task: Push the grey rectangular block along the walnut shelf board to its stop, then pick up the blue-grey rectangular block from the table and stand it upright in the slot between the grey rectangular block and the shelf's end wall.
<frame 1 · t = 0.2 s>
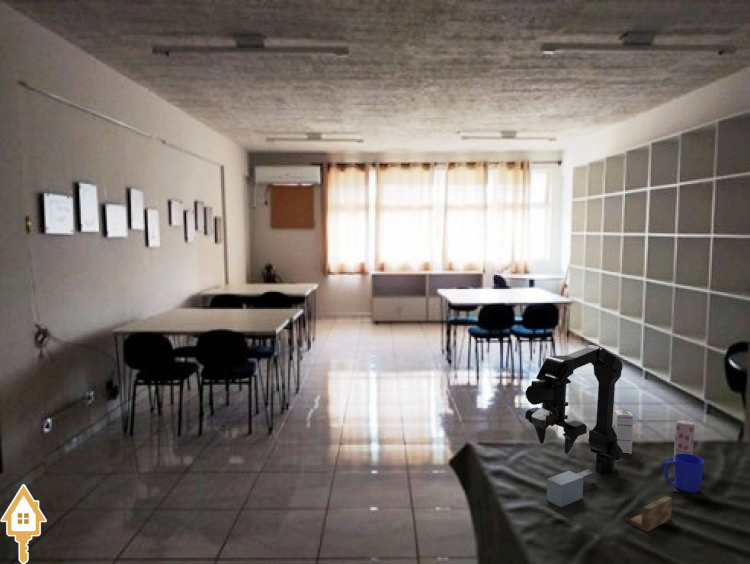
hand: (553, 448, 169), 14 cm above the table, tool pointing down, fingers open, 9 cm apart
beverage can: (682, 464, 193), on the table
shelf: (612, 503, 164), on the table
blue-grey rectangular block: (564, 503, 164), on the table
grey rectangular block: (581, 479, 172), point 3 cm above the table, slide at 0.0 cm
mug: (681, 489, 174), on the table
syrup box: (621, 451, 203), on the table
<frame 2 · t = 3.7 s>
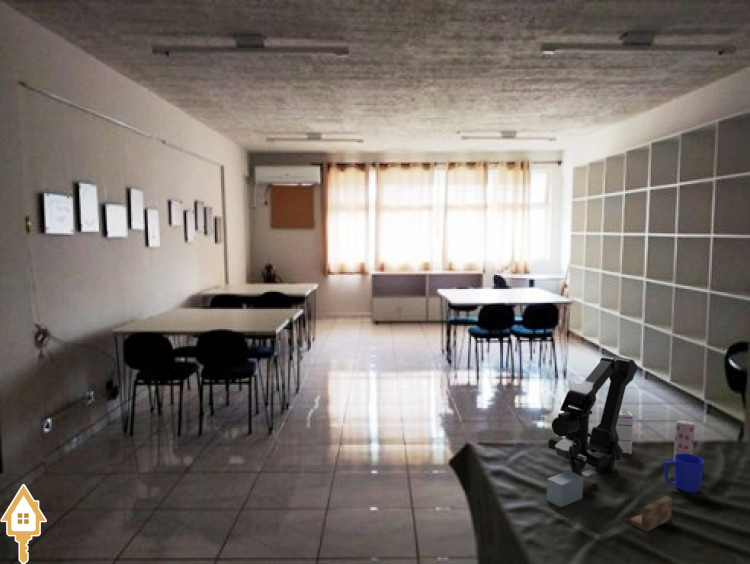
hand: (576, 477, 174), 3 cm above the table, tool pointing down, fingers closed
grey rectangular block: (582, 480, 172), point 3 cm above the table, slide at 0.5 cm, touching gripper
everything else where it was.
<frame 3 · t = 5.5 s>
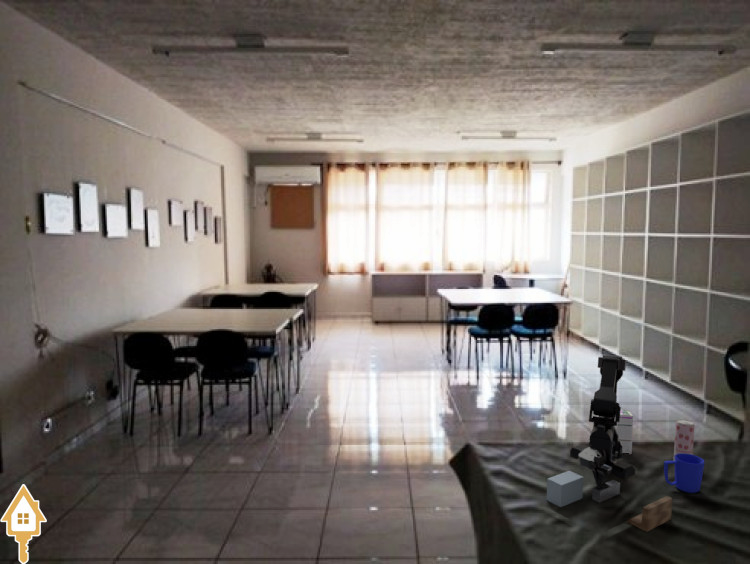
hand: (599, 487, 167), 3 cm above the table, tool pointing down, fingers closed
grey rectangular block: (606, 490, 165), point 3 cm above the table, slide at 8.7 cm, touching gripper
everything else where it was.
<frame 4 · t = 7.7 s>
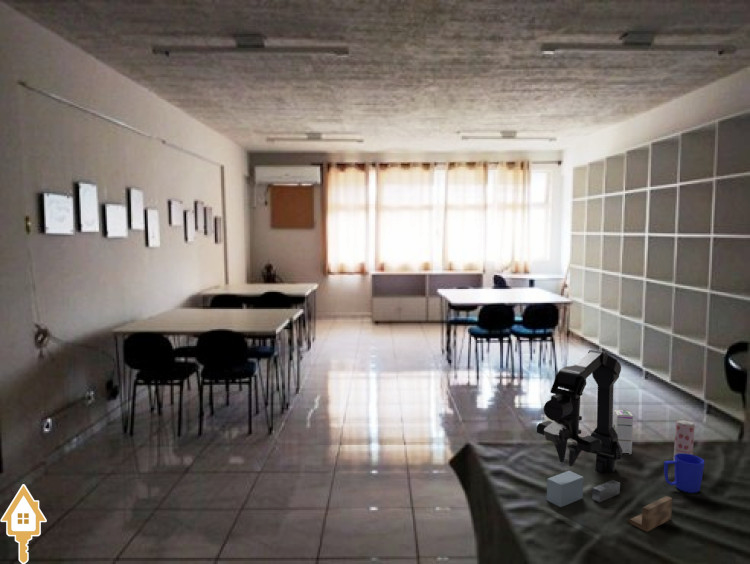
hand: (566, 464, 162), 12 cm above the table, tool pointing down, fingers open, 3 cm apart
grey rectangular block: (606, 490, 165), point 3 cm above the table, slide at 8.6 cm
everything else where it was.
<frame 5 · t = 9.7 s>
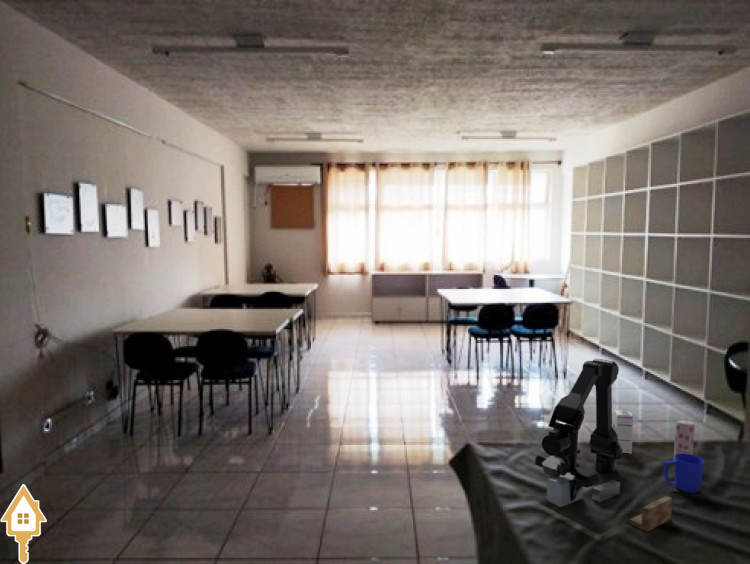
hand: (564, 496, 163), 2 cm above the table, tool pointing down, fingers closed on blue-grey rectangular block, 5 cm apart
blue-grey rectangular block: (564, 503, 164), on the table, touching gripper
everything else where it was.
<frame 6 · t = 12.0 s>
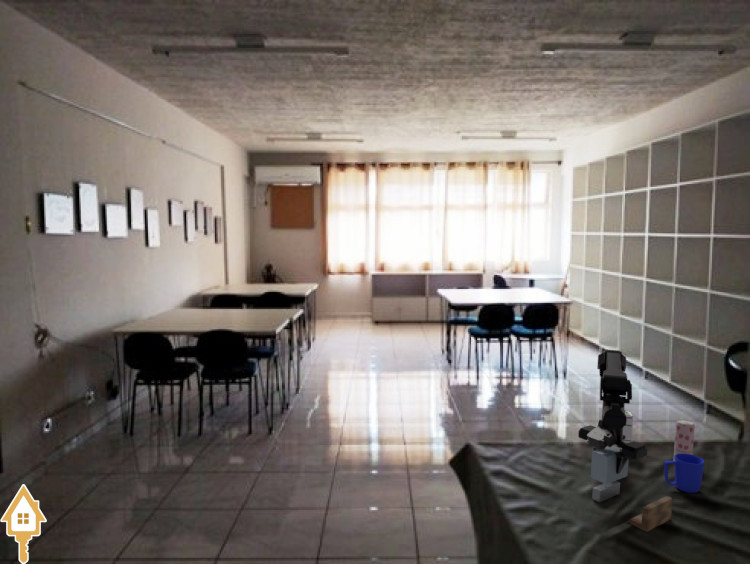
hand: (609, 469, 159), 12 cm above the table, tool pointing down, fingers closed on blue-grey rectangular block, 5 cm apart
blue-grey rectangular block: (609, 476, 160), point 10 cm above the table, touching gripper
everything else where it was.
when the fingers open (5 cm above the table, at t = 14.2 s): blue-grey rectangular block drops 1 cm, resting on shelf.
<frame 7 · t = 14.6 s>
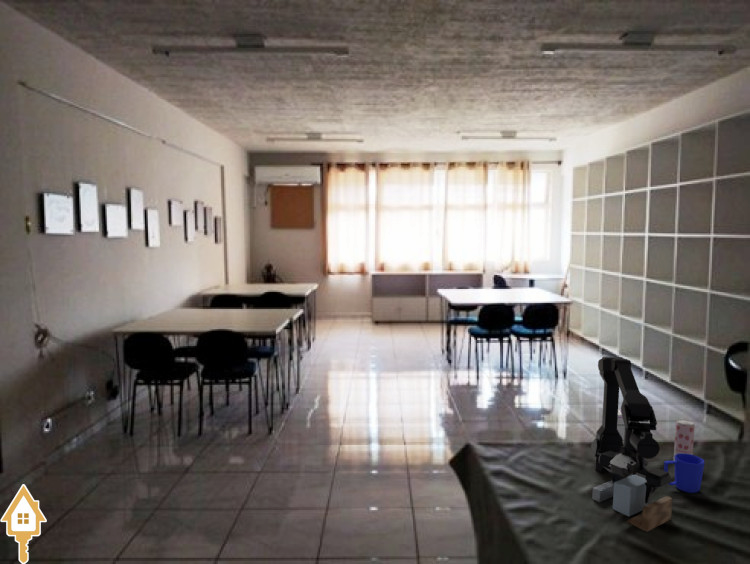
hand: (631, 496, 159), 5 cm above the table, tool pointing down, fingers open, 9 cm apart
blue-grey rectangular block: (630, 508, 159), point 1 cm above the table, touching shelf
everything else where it was.
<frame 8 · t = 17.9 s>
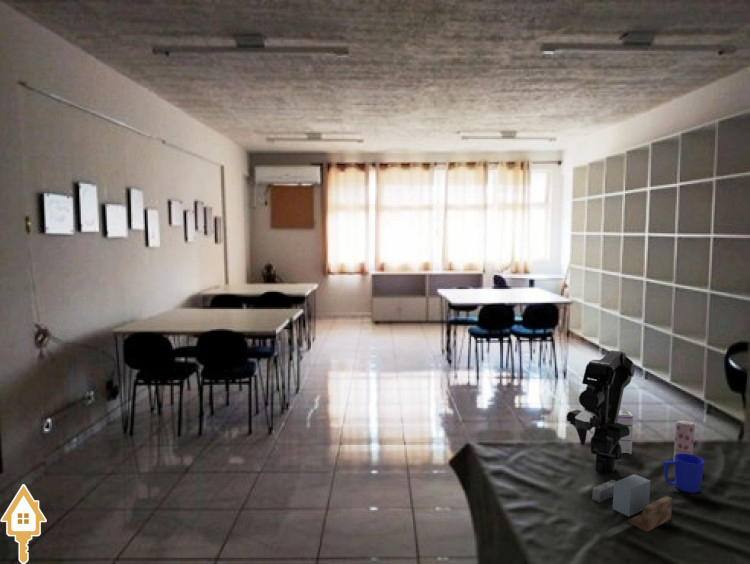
hand: (595, 449, 173), 12 cm above the table, tool pointing down, fingers open, 9 cm apart
nothing on the table moved.
at the end: blue-grey rectangular block inside the target area (0.1 cm from its centre), point 1.2 cm above the table; blue-grey rectangular block tilted 0°; grey rectangular block slide at 8.6 cm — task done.
